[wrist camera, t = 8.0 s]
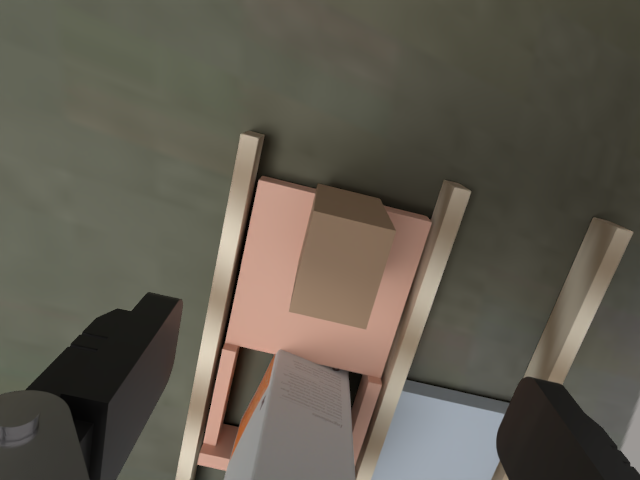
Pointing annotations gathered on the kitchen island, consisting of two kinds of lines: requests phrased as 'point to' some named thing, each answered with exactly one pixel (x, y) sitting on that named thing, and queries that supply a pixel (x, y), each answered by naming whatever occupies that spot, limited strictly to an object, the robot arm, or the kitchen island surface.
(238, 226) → the lane rails
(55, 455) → the robot arm
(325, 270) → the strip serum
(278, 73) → the kitchen island surface
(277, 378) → the skincare box
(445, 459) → the strip empty
